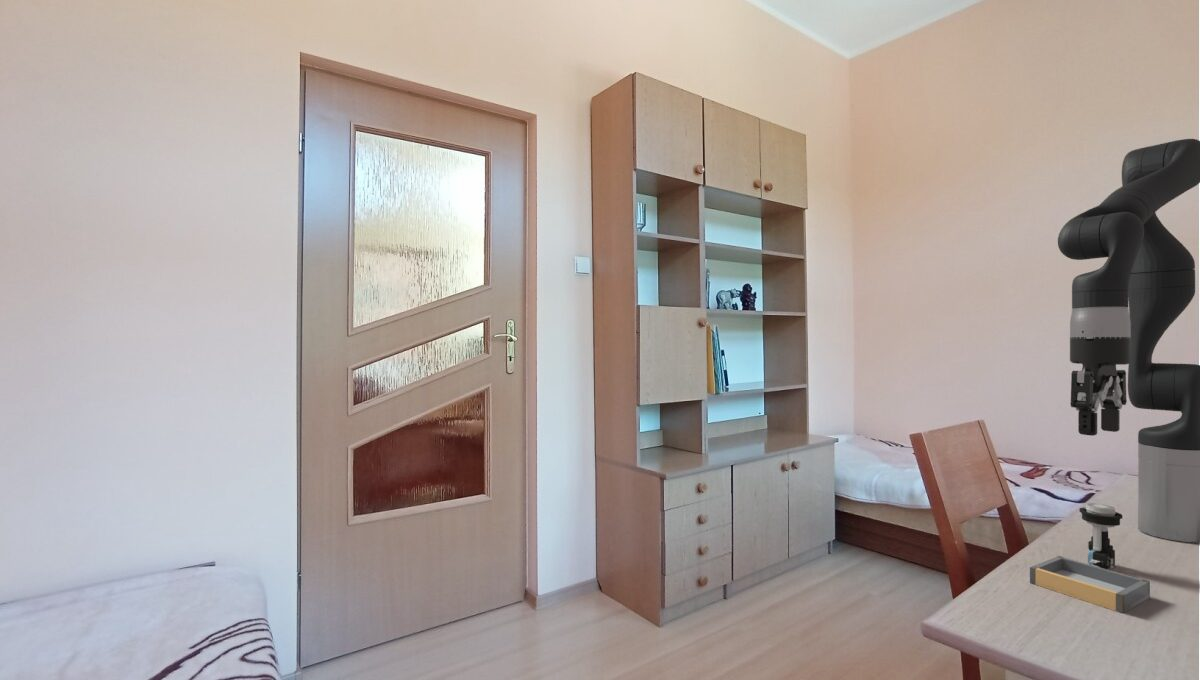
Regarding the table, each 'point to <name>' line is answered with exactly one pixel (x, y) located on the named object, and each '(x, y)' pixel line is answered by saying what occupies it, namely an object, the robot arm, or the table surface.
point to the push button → (1100, 533)
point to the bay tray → (1090, 583)
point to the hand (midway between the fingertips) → (1099, 433)
